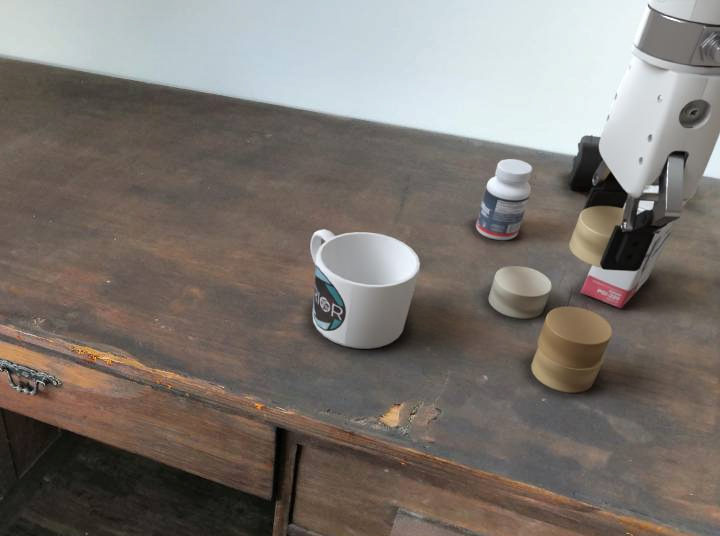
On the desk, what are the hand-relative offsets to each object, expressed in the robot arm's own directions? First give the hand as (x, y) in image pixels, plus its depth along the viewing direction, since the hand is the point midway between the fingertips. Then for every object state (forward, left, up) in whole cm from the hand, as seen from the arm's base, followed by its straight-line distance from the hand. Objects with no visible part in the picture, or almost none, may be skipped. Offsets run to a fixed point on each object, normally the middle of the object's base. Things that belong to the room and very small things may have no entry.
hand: (607, 246), depth 69 cm
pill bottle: (+1, -27, -15) cm, 31 cm away
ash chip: (+2, -11, -14) cm, 19 cm away
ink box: (-11, -16, -15) cm, 24 cm away
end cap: (-16, -39, -15) cm, 45 cm away
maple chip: (0, 0, -1) cm, 1 cm away
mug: (+21, -7, -15) cm, 26 cm away
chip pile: (0, +1, -14) cm, 14 cm away
